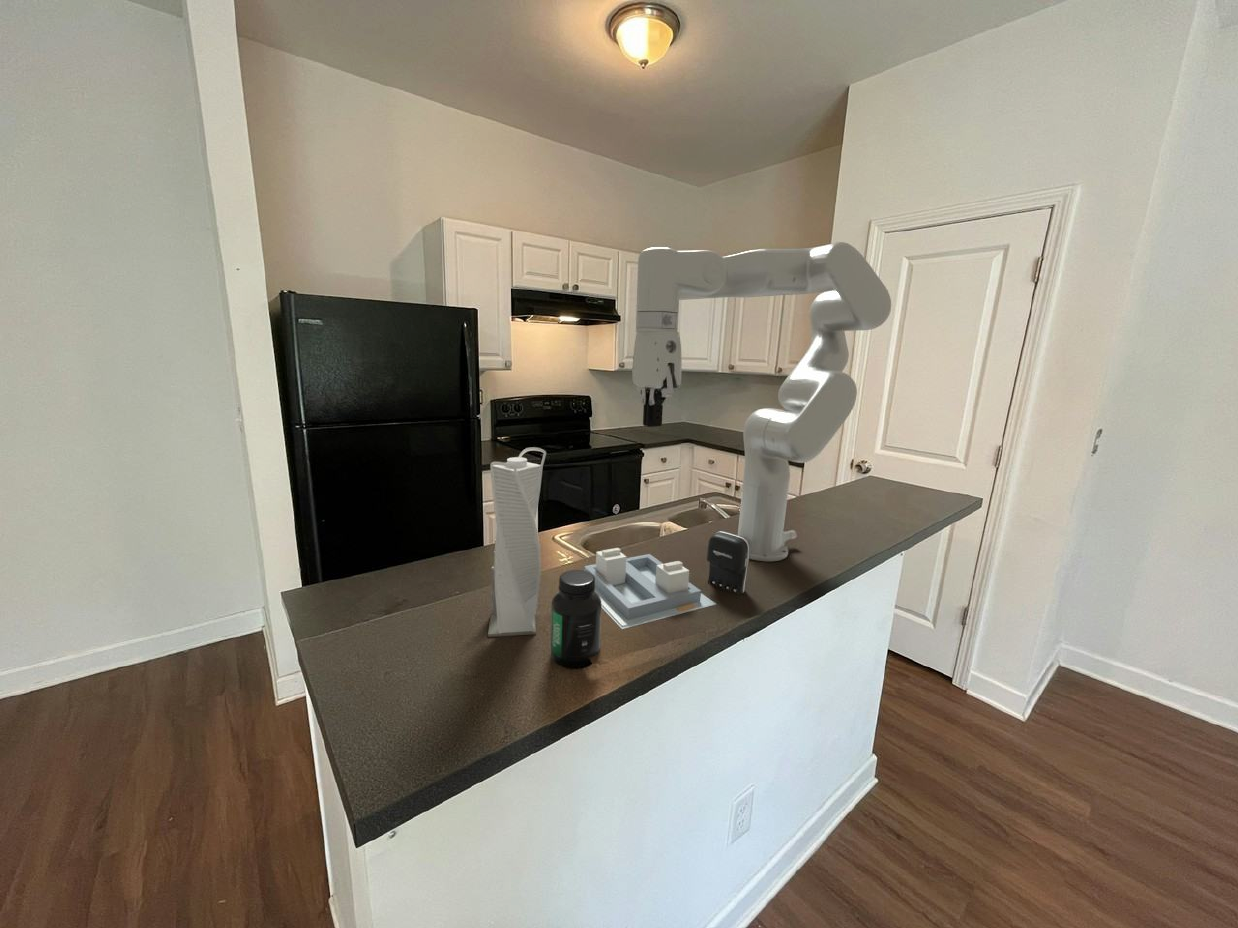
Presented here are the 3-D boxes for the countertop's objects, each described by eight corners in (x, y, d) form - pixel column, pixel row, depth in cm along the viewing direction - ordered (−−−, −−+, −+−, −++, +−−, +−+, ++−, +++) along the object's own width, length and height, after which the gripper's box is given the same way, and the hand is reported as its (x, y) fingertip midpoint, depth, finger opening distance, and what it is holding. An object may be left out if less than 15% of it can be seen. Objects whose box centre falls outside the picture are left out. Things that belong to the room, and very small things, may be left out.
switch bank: (652, 564, 98) (653, 548, 98) (715, 612, 81) (717, 593, 81) (570, 581, 90) (570, 564, 89) (621, 637, 73) (622, 616, 72)
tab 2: (673, 587, 86) (675, 557, 84) (687, 597, 82) (689, 566, 81) (654, 591, 84) (656, 560, 83) (667, 602, 80) (669, 570, 79)
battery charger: (700, 592, 88) (705, 533, 85) (711, 585, 91) (716, 528, 88) (735, 606, 84) (742, 544, 81) (745, 598, 86) (752, 538, 84)
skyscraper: (544, 609, 80) (545, 442, 74) (545, 637, 72) (547, 454, 66) (491, 612, 79) (488, 442, 72) (487, 641, 71) (483, 453, 64)
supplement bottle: (552, 673, 64) (553, 590, 62) (549, 643, 71) (550, 567, 68) (603, 668, 66) (606, 587, 63) (595, 639, 72) (597, 565, 70)
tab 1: (614, 573, 90) (616, 544, 89) (625, 582, 87) (626, 552, 86) (595, 577, 88) (596, 547, 87) (605, 586, 85) (606, 556, 84)
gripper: (699, 323, 82) (692, 431, 86) (651, 326, 95) (647, 419, 99) (662, 321, 78) (657, 433, 83) (618, 324, 91) (615, 421, 95)
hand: (652, 425), depth 91 cm, fingers closed
